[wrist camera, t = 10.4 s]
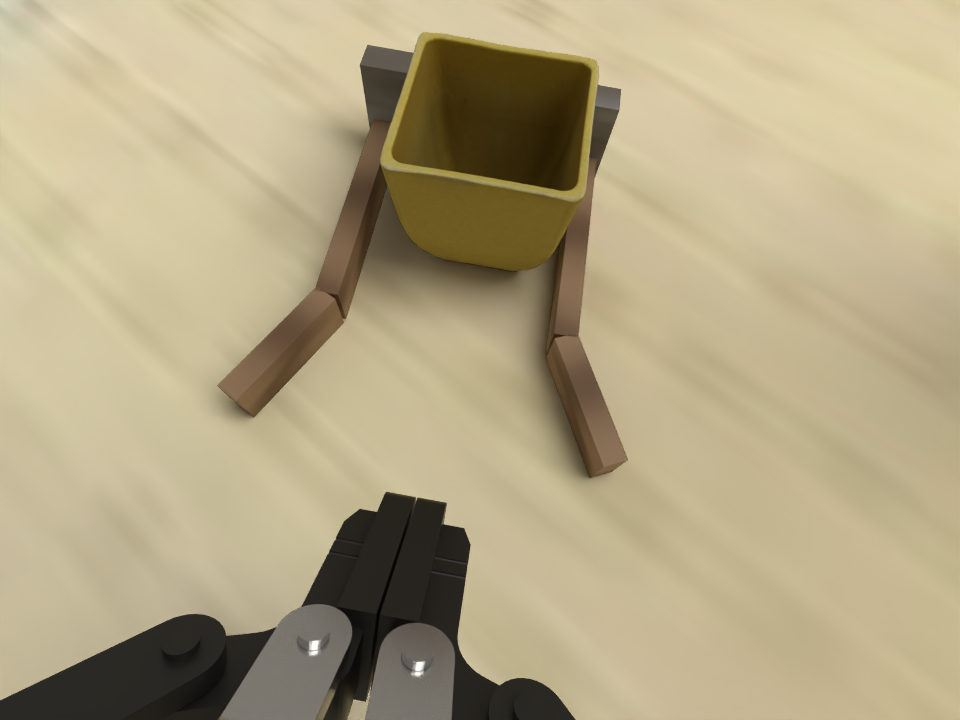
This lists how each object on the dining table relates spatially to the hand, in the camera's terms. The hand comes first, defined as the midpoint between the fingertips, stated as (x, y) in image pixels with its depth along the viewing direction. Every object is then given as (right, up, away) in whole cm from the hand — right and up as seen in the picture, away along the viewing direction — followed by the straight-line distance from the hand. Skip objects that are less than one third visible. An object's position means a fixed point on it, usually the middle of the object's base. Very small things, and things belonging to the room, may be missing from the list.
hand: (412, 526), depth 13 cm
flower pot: (+2, +12, +19) cm, 22 cm away
